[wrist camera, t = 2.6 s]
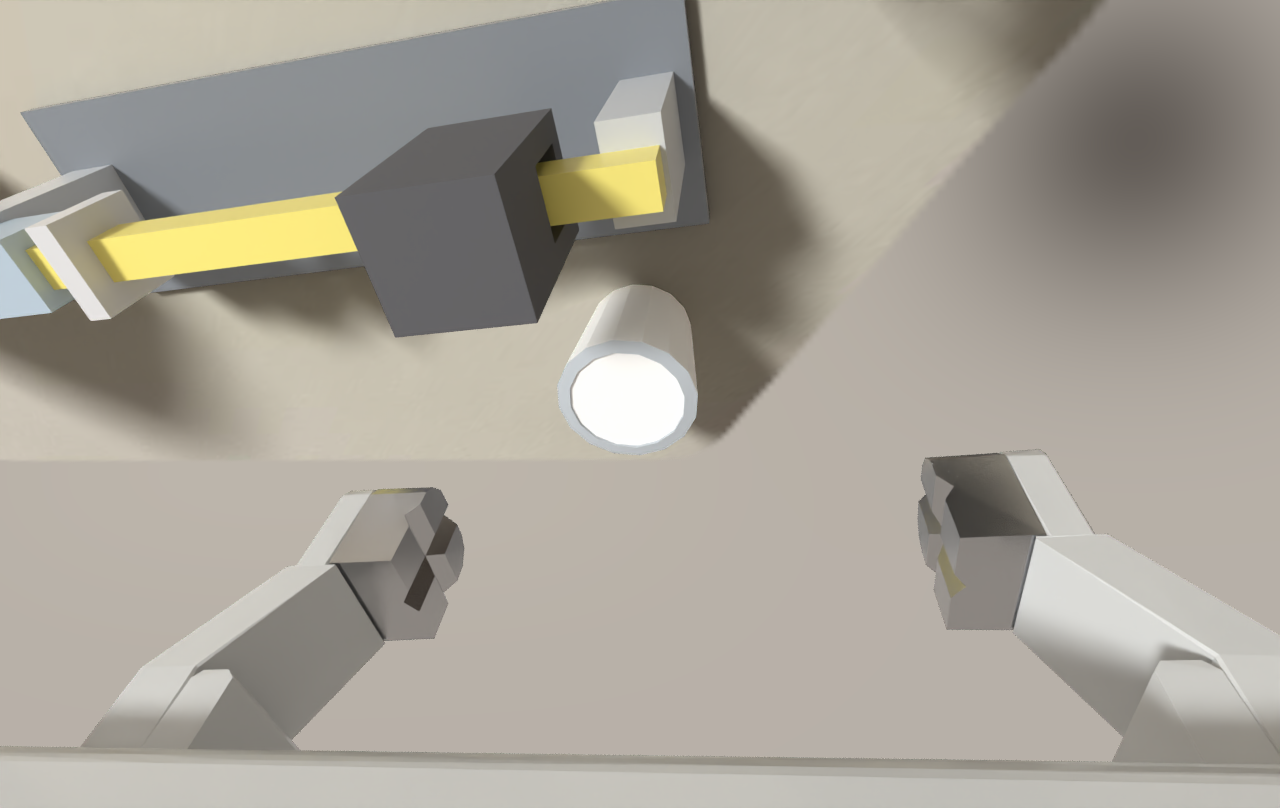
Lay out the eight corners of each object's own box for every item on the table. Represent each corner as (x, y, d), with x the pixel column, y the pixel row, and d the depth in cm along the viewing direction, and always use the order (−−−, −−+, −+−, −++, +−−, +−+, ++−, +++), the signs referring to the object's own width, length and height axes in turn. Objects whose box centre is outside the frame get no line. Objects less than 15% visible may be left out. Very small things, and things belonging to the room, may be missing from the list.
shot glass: (568, 281, 37) (540, 349, 31) (693, 265, 36) (687, 333, 30) (595, 385, 41) (574, 461, 35) (709, 374, 39) (706, 452, 34)
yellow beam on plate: (683, -14, 28) (664, 22, 19) (709, 217, 34) (703, 325, 25) (33, 108, 34) (-205, 178, 25) (148, 287, 40) (-14, 395, 31)
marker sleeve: (551, 108, 25) (494, 174, 19) (579, 230, 28) (537, 323, 22) (427, 128, 26) (334, 197, 20) (466, 244, 29) (395, 337, 23)
